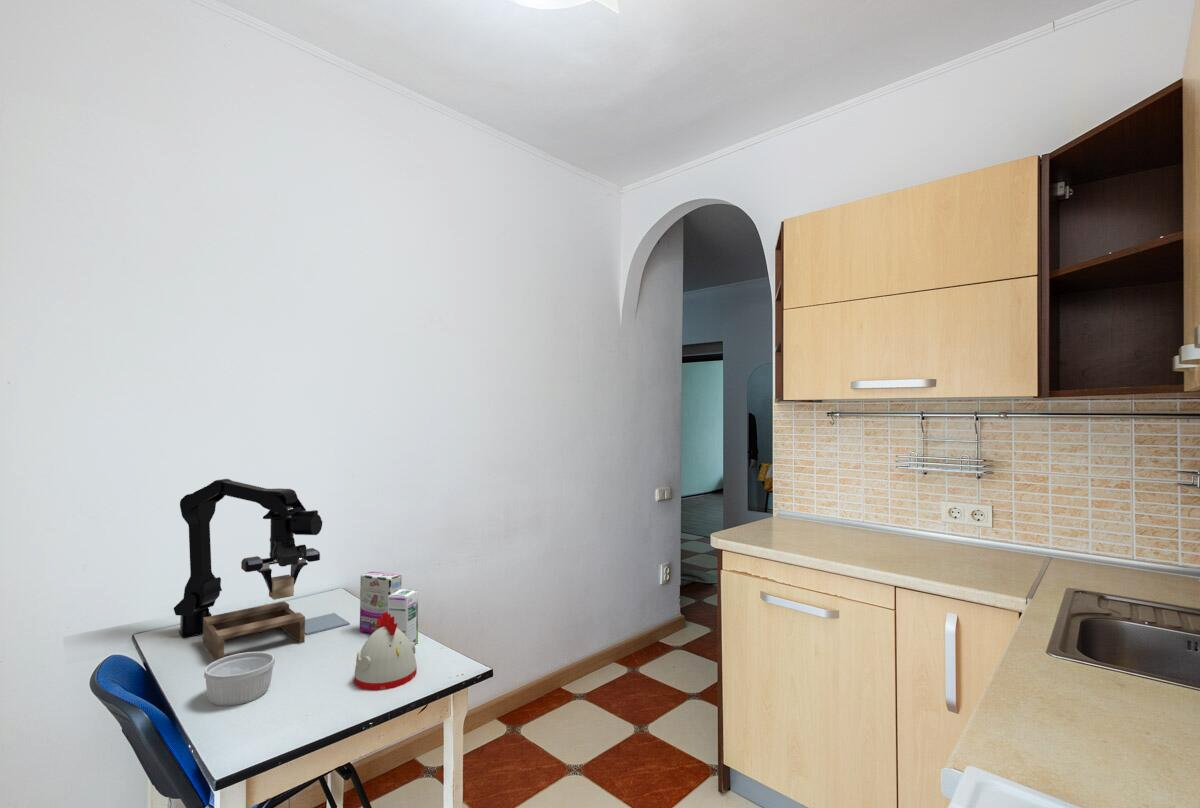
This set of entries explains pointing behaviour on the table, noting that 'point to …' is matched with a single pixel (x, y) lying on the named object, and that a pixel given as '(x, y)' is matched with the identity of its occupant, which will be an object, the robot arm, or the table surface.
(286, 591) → the maple block
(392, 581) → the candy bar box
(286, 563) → the robot arm
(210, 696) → the ramekin
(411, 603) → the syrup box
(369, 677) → the kitchen timer
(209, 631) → the wooden rack
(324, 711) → the table surface
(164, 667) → the table surface
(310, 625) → the pad
